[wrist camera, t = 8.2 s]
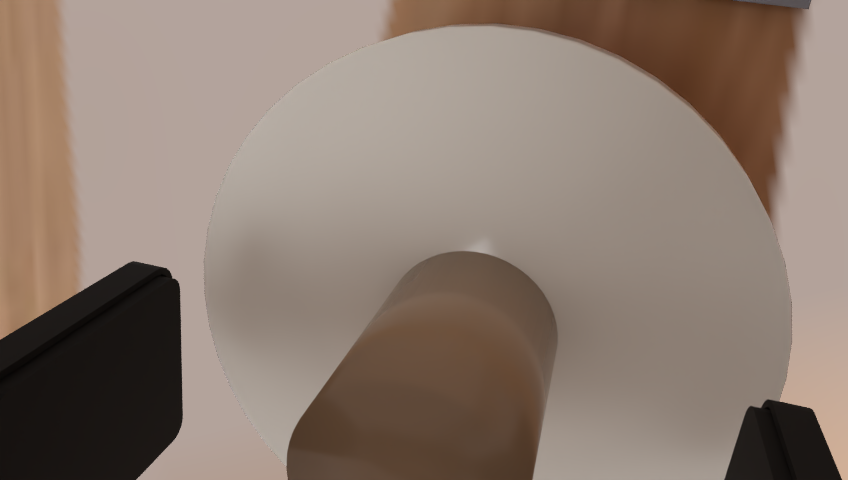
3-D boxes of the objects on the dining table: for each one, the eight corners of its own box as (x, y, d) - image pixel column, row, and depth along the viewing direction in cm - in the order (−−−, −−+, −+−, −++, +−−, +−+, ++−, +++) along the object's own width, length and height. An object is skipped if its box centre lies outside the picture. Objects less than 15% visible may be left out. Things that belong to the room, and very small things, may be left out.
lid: (693, -79, 11) (743, -113, 6) (838, 500, 14) (955, 797, 9) (145, 132, 15) (-94, 215, 10) (342, 558, 18) (229, 792, 13)
